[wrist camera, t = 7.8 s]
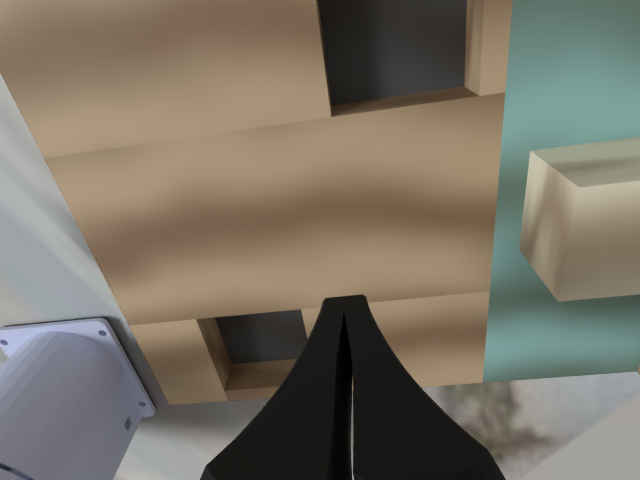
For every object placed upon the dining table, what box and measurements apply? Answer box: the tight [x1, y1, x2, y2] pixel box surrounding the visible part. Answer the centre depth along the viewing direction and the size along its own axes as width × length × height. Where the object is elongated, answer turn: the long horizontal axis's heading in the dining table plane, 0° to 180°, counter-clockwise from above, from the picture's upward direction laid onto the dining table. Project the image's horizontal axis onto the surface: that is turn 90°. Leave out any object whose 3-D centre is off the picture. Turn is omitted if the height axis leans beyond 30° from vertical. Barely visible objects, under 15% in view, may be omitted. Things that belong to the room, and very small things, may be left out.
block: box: [519, 137, 640, 302], centre depth 17 cm, size 5×5×4 cm
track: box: [0, 0, 640, 405], centre depth 19 cm, size 24×30×4 cm
